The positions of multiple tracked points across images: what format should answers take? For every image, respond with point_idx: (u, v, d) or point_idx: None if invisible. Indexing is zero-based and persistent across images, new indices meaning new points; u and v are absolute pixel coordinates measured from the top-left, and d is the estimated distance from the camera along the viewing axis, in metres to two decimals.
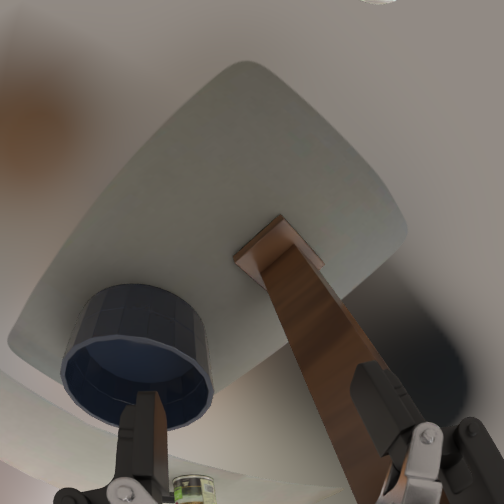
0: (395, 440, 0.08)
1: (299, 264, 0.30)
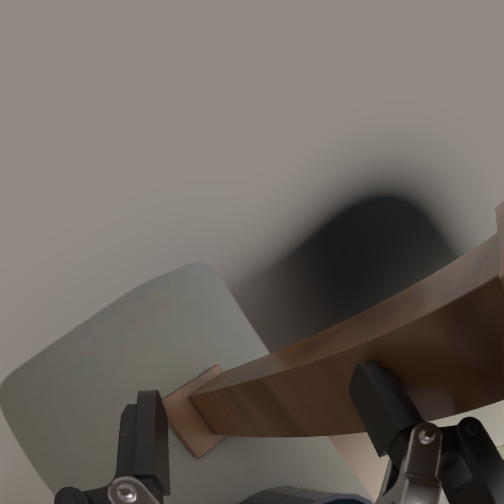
0: (394, 440, 0.08)
1: (204, 400, 0.25)
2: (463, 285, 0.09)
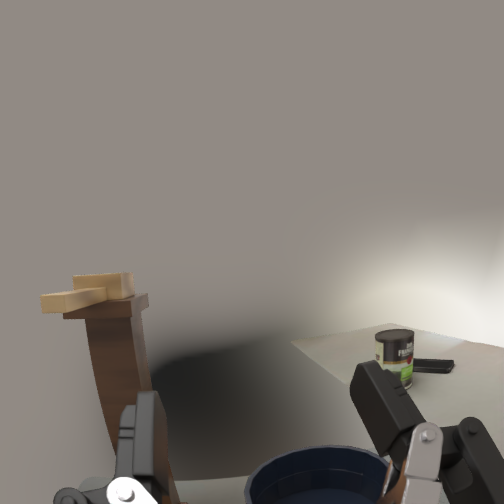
0: (395, 440, 0.08)
1: None
2: None
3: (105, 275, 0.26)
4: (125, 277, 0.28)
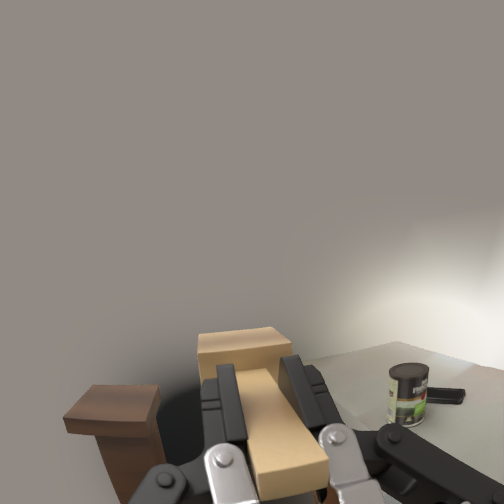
0: None
1: None
2: None
3: (264, 348, 0.16)
4: None
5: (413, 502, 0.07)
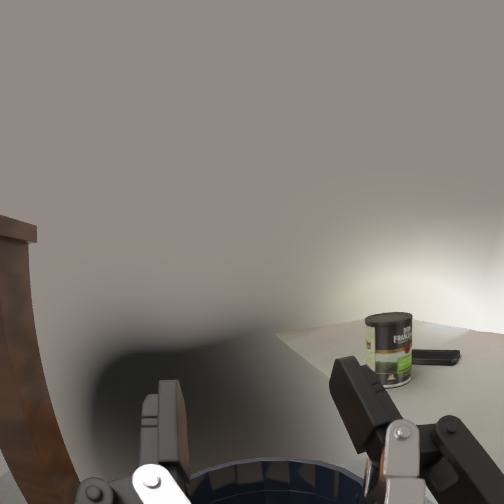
0: (370, 436, 0.09)
1: None
2: None
3: None
4: None
5: (446, 501, 0.06)
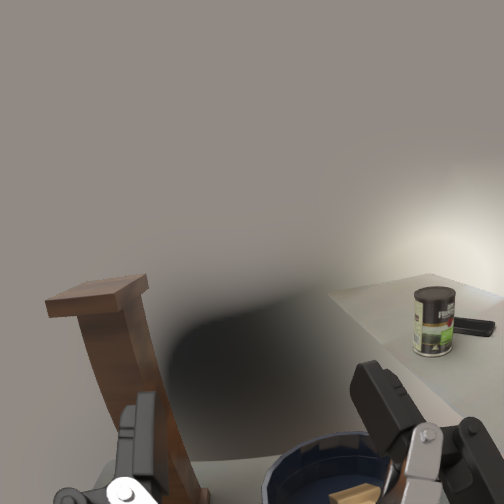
0: (395, 440, 0.08)
1: None
2: None
3: (367, 492, 0.24)
4: None
5: None
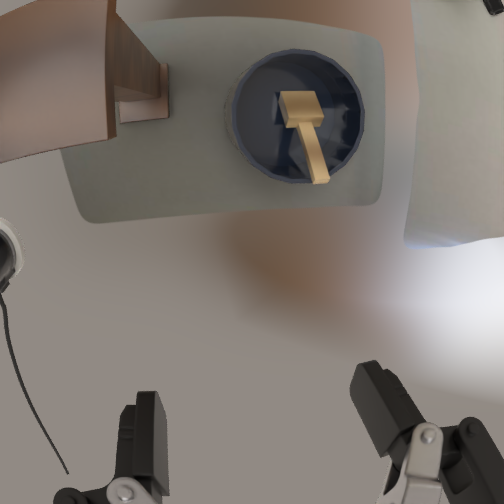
0: (395, 440, 0.08)
1: (125, 100, 0.33)
2: None
3: (313, 117, 0.38)
4: None
5: None
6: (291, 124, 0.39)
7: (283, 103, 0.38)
